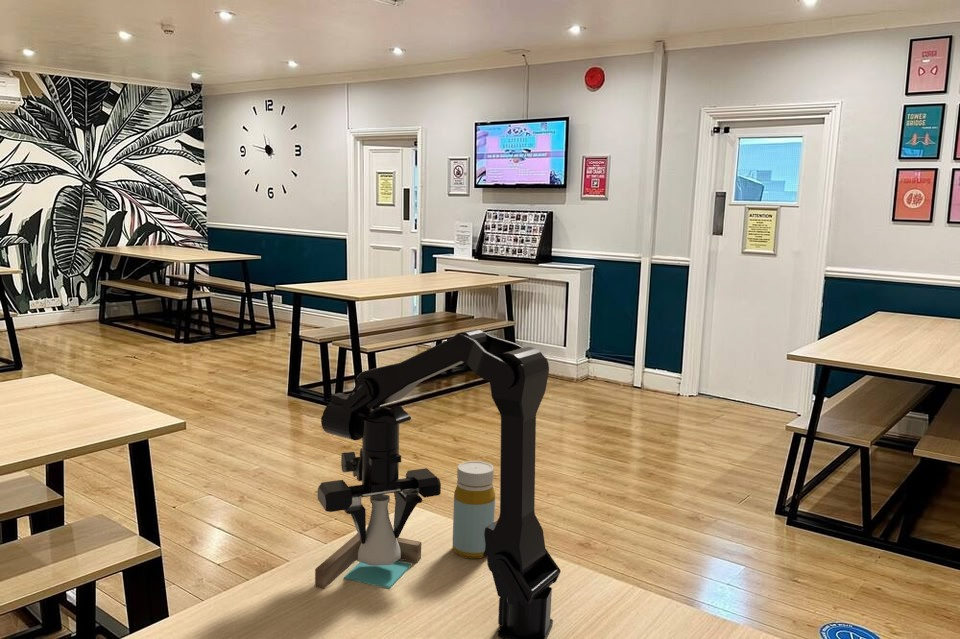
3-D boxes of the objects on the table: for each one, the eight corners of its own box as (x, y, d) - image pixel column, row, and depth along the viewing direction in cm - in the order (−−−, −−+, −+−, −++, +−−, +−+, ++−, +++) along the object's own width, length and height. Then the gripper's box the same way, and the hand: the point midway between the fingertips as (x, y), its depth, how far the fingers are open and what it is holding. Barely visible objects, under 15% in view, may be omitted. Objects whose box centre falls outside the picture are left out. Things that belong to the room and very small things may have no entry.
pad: (411, 565, 121) (411, 563, 121) (390, 588, 113) (390, 586, 113) (367, 556, 123) (367, 554, 123) (344, 578, 116) (344, 576, 116)
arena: (420, 558, 123) (421, 541, 123) (381, 602, 109) (381, 583, 109) (360, 546, 127) (361, 530, 126) (315, 587, 113) (315, 568, 113)
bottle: (446, 545, 129) (448, 462, 126) (482, 538, 132) (485, 458, 129) (462, 563, 122) (465, 476, 120) (499, 555, 125) (503, 471, 123)
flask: (349, 564, 115) (350, 504, 114) (365, 544, 122) (365, 487, 121) (394, 570, 114) (395, 508, 112) (407, 549, 121) (408, 491, 119)
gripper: (417, 425, 126) (415, 512, 129) (309, 437, 118) (309, 529, 121) (443, 445, 117) (440, 538, 119) (326, 459, 108) (326, 559, 111)
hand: (379, 540), depth 118 cm, fingers closed on flask, 5 cm apart
